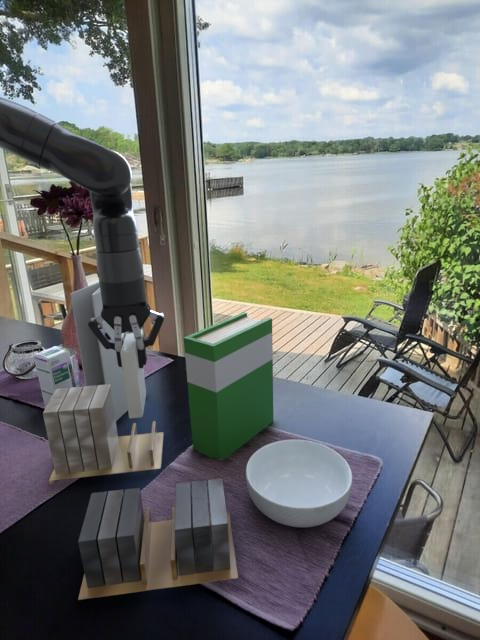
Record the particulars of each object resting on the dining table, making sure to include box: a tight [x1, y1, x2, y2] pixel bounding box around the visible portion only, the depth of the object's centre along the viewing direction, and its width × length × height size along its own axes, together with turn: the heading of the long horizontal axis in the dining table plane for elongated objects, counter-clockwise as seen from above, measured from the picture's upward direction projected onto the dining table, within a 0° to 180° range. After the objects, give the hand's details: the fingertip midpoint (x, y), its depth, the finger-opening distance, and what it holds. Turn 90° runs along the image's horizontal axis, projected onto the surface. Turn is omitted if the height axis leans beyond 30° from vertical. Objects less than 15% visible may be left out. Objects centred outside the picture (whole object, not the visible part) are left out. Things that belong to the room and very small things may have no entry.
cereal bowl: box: [245, 439, 353, 528], centre depth 72 cm, size 17×17×7 cm
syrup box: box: [33, 345, 77, 409], centre depth 104 cm, size 6×6×14 cm
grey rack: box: [77, 478, 239, 601], centre depth 63 cm, size 21×12×9 cm, turn 97°
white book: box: [120, 333, 147, 419], centre depth 81 cm, size 2×9×13 cm, turn 7°
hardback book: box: [183, 311, 274, 460], centre depth 89 cm, size 18×7×24 cm, turn 141°
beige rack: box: [42, 384, 165, 486], centre depth 84 cm, size 20×12×14 cm, turn 97°
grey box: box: [69, 281, 133, 422], centre depth 100 cm, size 14×6×30 cm, turn 161°
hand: (133, 366), depth 81 cm, fingers closed on white book, 2 cm apart
